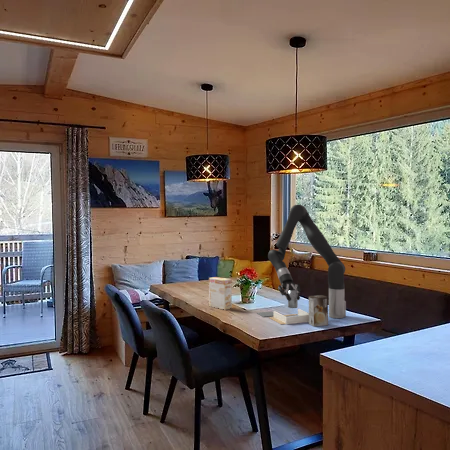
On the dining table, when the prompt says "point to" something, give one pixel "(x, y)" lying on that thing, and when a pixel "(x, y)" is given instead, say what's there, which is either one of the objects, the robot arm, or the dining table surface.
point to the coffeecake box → (220, 293)
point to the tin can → (293, 299)
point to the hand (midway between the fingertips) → (294, 299)
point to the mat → (266, 314)
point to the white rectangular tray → (293, 319)
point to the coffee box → (318, 310)
